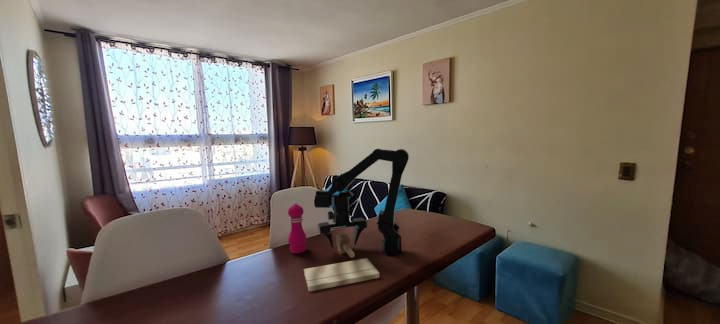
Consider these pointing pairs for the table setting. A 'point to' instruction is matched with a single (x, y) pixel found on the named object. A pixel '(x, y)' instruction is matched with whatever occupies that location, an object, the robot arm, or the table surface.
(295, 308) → the table surface
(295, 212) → the pepper mill
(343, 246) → the wooden mallet
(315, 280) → the board
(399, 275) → the table surface
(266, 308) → the table surface
